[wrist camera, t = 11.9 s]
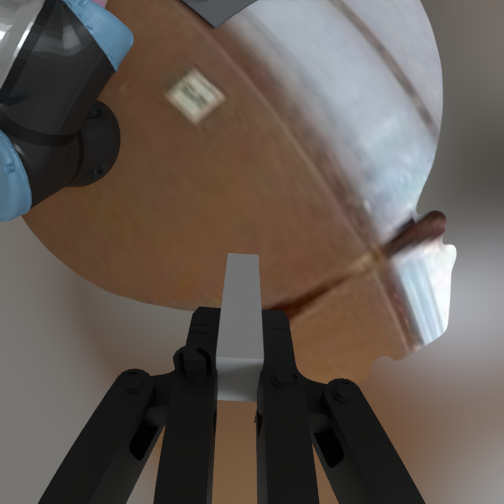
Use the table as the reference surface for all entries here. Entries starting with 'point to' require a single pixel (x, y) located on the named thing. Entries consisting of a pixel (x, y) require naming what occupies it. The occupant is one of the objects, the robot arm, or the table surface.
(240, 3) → the mat
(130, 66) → the table surface
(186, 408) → the robot arm
